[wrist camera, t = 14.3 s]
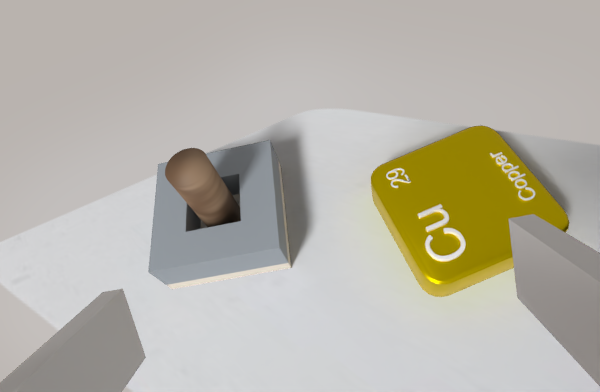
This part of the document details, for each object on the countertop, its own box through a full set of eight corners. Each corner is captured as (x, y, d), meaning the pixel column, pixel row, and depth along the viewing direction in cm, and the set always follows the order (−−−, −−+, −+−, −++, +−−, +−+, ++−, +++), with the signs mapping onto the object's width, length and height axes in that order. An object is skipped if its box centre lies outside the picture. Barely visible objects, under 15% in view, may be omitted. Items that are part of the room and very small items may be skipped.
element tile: (565, 246, 43) (582, 224, 39) (429, 304, 43) (432, 289, 39) (481, 142, 51) (488, 115, 47) (366, 190, 51) (363, 168, 47)
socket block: (280, 166, 55) (269, 140, 50) (291, 267, 47) (279, 247, 42) (178, 187, 56) (158, 164, 51) (172, 289, 49) (148, 272, 44)
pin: (242, 199, 51) (208, 144, 42) (243, 232, 49) (207, 180, 40) (208, 206, 52) (166, 153, 42) (207, 239, 49) (163, 189, 40)
